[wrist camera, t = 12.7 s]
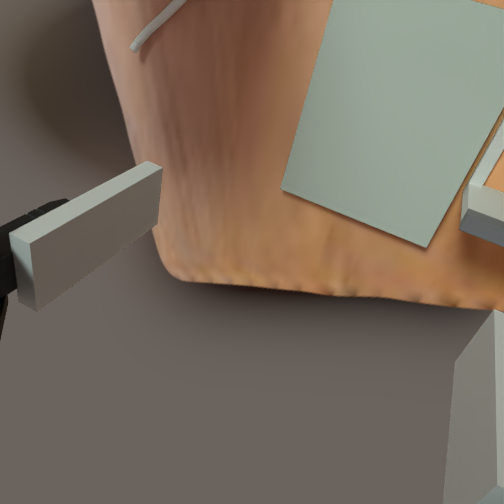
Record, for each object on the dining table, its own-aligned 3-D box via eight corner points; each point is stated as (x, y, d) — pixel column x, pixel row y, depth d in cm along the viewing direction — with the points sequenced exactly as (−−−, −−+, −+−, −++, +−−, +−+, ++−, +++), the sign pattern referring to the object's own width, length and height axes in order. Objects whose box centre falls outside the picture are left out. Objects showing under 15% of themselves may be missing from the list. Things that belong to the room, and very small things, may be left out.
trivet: (346, -34, 32) (343, -35, 31) (548, 21, 29) (550, 22, 28) (283, 185, 42) (280, 188, 42) (427, 242, 39) (426, 247, 38)
